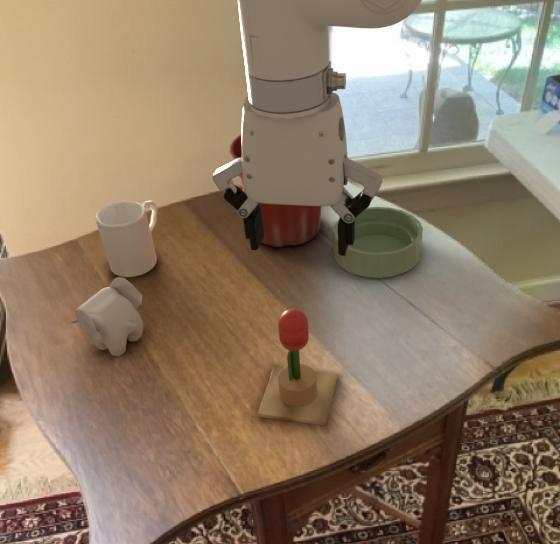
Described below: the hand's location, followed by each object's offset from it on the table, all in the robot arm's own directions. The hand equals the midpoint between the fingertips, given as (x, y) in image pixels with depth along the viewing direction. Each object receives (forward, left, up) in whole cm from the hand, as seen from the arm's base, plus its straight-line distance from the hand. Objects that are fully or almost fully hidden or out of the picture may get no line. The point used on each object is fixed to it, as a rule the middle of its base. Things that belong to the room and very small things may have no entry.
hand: (300, 246), depth 72 cm
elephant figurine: (+31, -6, -23) cm, 40 cm away
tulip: (+1, +1, -23) cm, 23 cm away
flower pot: (+12, -39, -23) cm, 47 cm away
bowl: (-5, -33, -23) cm, 41 cm away
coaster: (+1, +1, -23) cm, 23 cm away
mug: (+35, -27, -23) cm, 50 cm away
